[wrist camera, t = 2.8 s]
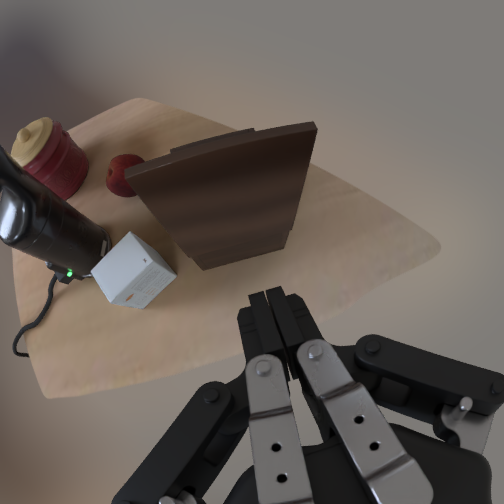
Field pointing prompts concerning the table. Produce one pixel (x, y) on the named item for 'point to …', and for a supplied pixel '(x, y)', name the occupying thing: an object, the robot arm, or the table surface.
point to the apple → (121, 174)
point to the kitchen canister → (51, 156)
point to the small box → (132, 273)
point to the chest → (242, 249)
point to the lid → (228, 187)
